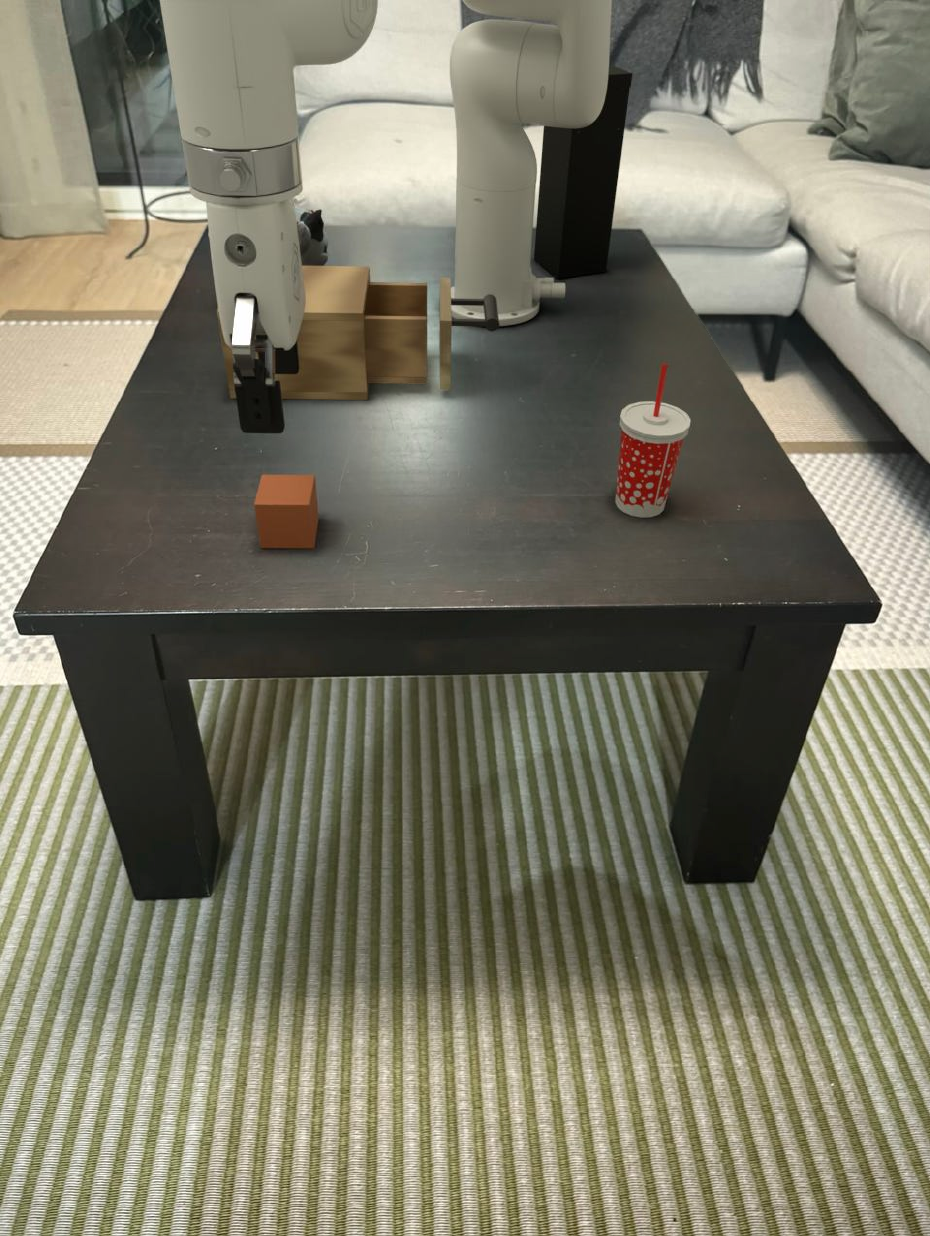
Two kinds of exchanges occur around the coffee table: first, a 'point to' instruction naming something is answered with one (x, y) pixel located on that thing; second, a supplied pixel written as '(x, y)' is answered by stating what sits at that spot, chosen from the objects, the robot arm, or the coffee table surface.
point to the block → (287, 511)
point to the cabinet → (326, 338)
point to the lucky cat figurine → (311, 237)
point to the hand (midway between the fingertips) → (272, 400)
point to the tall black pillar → (581, 187)
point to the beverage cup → (649, 453)
